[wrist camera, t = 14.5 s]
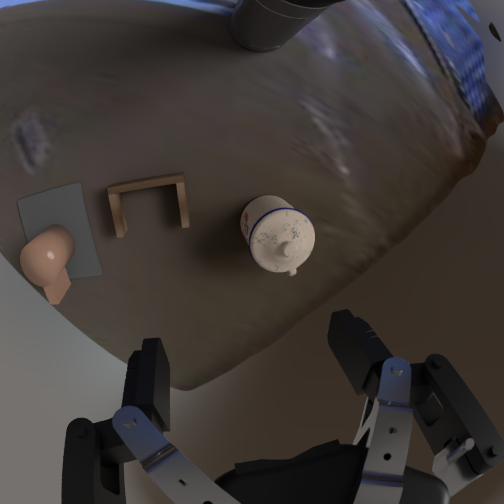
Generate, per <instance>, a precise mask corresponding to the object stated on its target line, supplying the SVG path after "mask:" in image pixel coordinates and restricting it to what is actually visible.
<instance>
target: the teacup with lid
mask: <svg viewBox="0 0 504 504" xmlns="http://www.w3.org/2000/svg"><path fill="white" fill-rule="evenodd" d="M240 224H241V230H242V233H243V235H244V237H245V239H246V241H247V243H248V246H249V250H250V254H251V256H252V258H253V259H254V261H255V262H256V263H257V264H258V265H259V266H260V267H262V268H264V269H266V270H268V271H272V272H287V273H288V275H289V276H293V275H295V274H296V267H298V266H299V265H301V264H302V263H303V262H304V261H305V260H306V259H307V258H308V256H309V255H310V253H311V251H312V249H313V246H314V241H315V233H314V228H313V225H312V223H311V221H310V220H309V218H308V217H307V216H306V215H305V214H304V213H302V212H301V211H299V210H297V209H294V208H293V207H292V206H291V205H289V204H288V203H287V202H286V201H284V200H283V199H281V198H279V197H276V196H271V195H266V196H261V197H258V198H256V199H254V200H253V201H251V202H250V203H249V204H248V205H247V206H246V208H245V209H244V211H243V213H242V216H241V223H240Z"/></svg>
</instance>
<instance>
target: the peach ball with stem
mask: <svg viewBox="0 0 504 504" xmlns="http://www.w3.org/2000/svg"><path fill="white" fill-rule="evenodd" d="M74 252H75V242H74V239H73V237H72V235H71V233H70V232H69V231H68V230H67V229H66V228H65V227H63V226H61V225H58V224H53V225H50V226H48V227H47V228H46V229H45V230H43V231H42V232H41V233H40V234H39V235H38V236H36V237H35V238H34V239H33V240H32V241H31V242H29V243H28V244H27V245H26V246H25V247H24V248H23V249H22V251H21V255H20V263H21V267H22V270H23V272H24V274H25V275H26V277H27V278H28V279H29V280H30V281H31V282H32V283H34V284H35V285H37V286H40V287H43V288H44V291H45V293H46V296H47V298H48V300H49V303H50V305H51V304H59V303H60V301H61V299H62V298H63V296H64V294H65V293H66V291H67V290H68V288H69V286H70V285H71V282H70V280H69V277H68V274H67V271H66V268H65V266H66V265H67V263H68V262H69V261H70V260H71V258H72V257H73V255H74Z"/></svg>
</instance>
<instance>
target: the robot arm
mask: <svg viewBox="0 0 504 504" xmlns="http://www.w3.org/2000/svg"><path fill="white" fill-rule="evenodd" d="M342 1H345V0H238V1H237V4H236V6H235V9H234V11H233V14H232V17H231V19H230V23H229V29H230V32H231V35H232V37H233V38H234V40H235V41H236V42H237V43H238V44H240V45H241V46H243V47H244V48H247V49H249V50H252V51H256V52H269V51H273V50H276V49H278V48H280V47H281V46H282V45H284V44H285V43H286V42H287V41H288V40H289V39H291V38H292V37H293V36H294V35H295V34H296V33H298V32H299V31H300V30H301V29H302V28H304V27H305V26H306V25H307V24H309V23H310V22H311V21H312V20H314V19H315V18H316V17H317V16H319V15H320V14H321V13H323V12H324V11H325V10H326V9H328V8H329V7H331V6H332V5H333V4H335V3H337V2H342ZM328 343H329V346H330V348H331V349H332V352H333V353H334V355H335V357H336V359H337V360H338V362H339V364H340V366H341V367H342V369H343V371H344V373H345V374H346V376H347V378H348V380H349V381H350V383H351V384H352V387H353V388H354V390H355V392H356V394H357V395H361V394H364V393H366V394H367V396H368V397H367V400H366V403H365V408H364V412H363V416H362V419H361V423H360V427H359V430H358V433H357V435H356V438H355V440H354V442H353V444H340V443H339V441H338V439H336V440H334V441H331V442H327V443H324V444H322V445H318V446H315V447H313V448H311V449H309V450H307V451H305V452H303V453H301V454H300V455H298V456H296V457H294V458H292V459H285V460H267V459H266V460H265V459H262V460H261V459H260V460H255V461H249V462H243V463H235V469H233V470H230V471H228V472H226V473H224V474H223V475H221V476H220V477H218V478H217V479H216V480H215V481H214V482H213V481H212V480H211V479H209V478H208V477H207V476H206V475H205V474H204V473H202V472H201V471H200V470H199V469H198V468H197V467H196V466H195V465H194V464H192V463H191V462H190V461H189V460H188V459H187V458H186V457H185V456H184V455H183V454H182V453H181V452H180V451H179V450H178V449H177V448H176V447H175V446H173V445H172V444H171V443H170V442H169V441H168V440H167V439H166V438H165V437H164V436H163V432H164V431H170V366H169V361H168V358H167V355H166V353H165V350H164V347H163V344H162V341H161V339H160V338H148V339H144V340H143V344H142V350H138V351H134V352H133V354H132V355H131V357H130V358H129V361H128V367H127V373H126V379H125V386H124V392H123V400H122V406H121V408H120V409H119V410H117V411H116V412H115V414H114V416H113V417H112V418H111V419H108V420H104V421H100V422H96V423H92V422H91V421H90V420H88V419H86V418H77V419H74V420H73V421H71V422H70V423H69V425H68V427H67V431H66V438H65V448H64V456H63V470H62V504H126V497H125V486H124V485H125V484H124V466H123V465H124V463H125V462H129V461H133V460H138V461H139V462H140V463H141V465H142V467H143V469H144V470H145V471H146V473H147V474H148V475H149V476H150V477H151V479H152V480H153V481H154V482H155V483H156V484H157V485H158V486H159V487H160V489H161V490H162V491H163V492H164V493H165V494H166V495H167V496H168V497H169V498H170V499H171V500H172V501H173V502H174V503H175V504H449V499H450V497H451V496H453V495H454V494H455V493H457V492H458V491H460V490H461V489H462V488H464V487H465V486H466V485H468V484H469V483H470V482H472V481H474V480H475V479H477V478H478V477H480V476H482V475H483V474H485V473H486V472H488V471H489V470H491V469H492V468H494V467H495V466H497V465H498V464H499V463H501V462H502V460H503V458H504V442H503V440H502V438H501V437H500V435H499V433H498V432H497V430H496V428H495V427H494V425H493V424H492V422H491V420H490V419H489V417H488V416H487V414H486V413H485V411H484V410H483V408H482V407H481V405H480V404H479V402H478V401H477V399H476V398H475V396H474V395H473V394H472V392H471V391H470V389H469V388H468V387H467V385H466V384H465V382H464V381H463V380H462V378H461V377H460V376H459V374H458V373H457V372H456V370H455V369H454V368H453V366H452V365H451V364H450V362H449V361H448V360H447V359H446V358H445V357H444V356H442V355H440V354H431V355H429V356H428V357H427V358H426V360H425V362H424V363H415V364H409V363H408V362H407V361H405V360H404V359H401V358H397V357H393V356H392V354H391V353H390V352H389V350H388V349H387V348H386V346H385V345H384V344H383V342H382V341H381V340H380V338H379V337H377V335H376V333H375V332H374V331H373V330H372V328H371V327H370V326H369V324H368V323H367V322H366V321H364V320H363V319H361V318H359V317H356V318H355V317H354V316H353V315H352V313H351V312H350V311H349V310H348V309H345V310H341V311H336V312H333V313H332V315H331V320H330V325H329V330H328ZM434 393H435V395H436V396H437V398H438V399H439V401H440V402H441V404H442V406H443V409H442V407H441V406H440V404H439V402H438V401H437V399H436V398H435V397H434V395H433V394H434ZM413 416H414V418H415V420H416V421H417V423H418V425H419V427H420V429H421V430H422V432H423V434H424V436H425V438H426V440H427V442H428V443H429V445H430V447H431V449H432V451H433V453H434V455H435V458H434V462H433V465H434V466H433V468H432V471H433V472H434V473H435V476H433V475H431V474H428V473H425V472H422V471H419V470H417V469H414V468H411V467H409V466H406V465H405V463H406V458H407V453H408V447H409V441H410V434H411V426H412V418H413Z"/></svg>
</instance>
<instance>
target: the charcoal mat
mask: <svg viewBox="0 0 504 504" xmlns="http://www.w3.org/2000/svg"><path fill="white" fill-rule="evenodd" d="M17 203H18V208H19V212H20V216H21V220H22V224H23V228H24V231H25V235H26V238H27V241H28V243H29V242H31V241H32V240H33V239H34V238H35V237H36V236H38V235H39V234H40V233H41V232H42V231H43V230H45V229H46V228H47V227H48V226H50V225H53V224H58V225H61V226H63V227H65V228H66V229H67V230H68V231H69V232H70V233H71V235H72V237H73V239H74V242H75V252H74V255H73V257H72V258H71V260H70V261H69V262H68V263H67V265H66V266H65V268H66V271H67V274H68V277H69V279H77V278H84V277H92V276H99V275H103V272H102V269H101V266H100V262H99V259H98V255H97V252H96V248H95V245H94V241H93V237H92V233H91V229H90V225H89V221H88V217H87V212H86V208H85V203H84V198H83V193H82V187H81V182H78V183H74V184H70V185H66V186H62V187H59V188H55V189H52V190H48V191H45V192H42V193H38V194H35V195H32V196H29V197H26V198H23V199H20V200H17Z"/></svg>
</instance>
